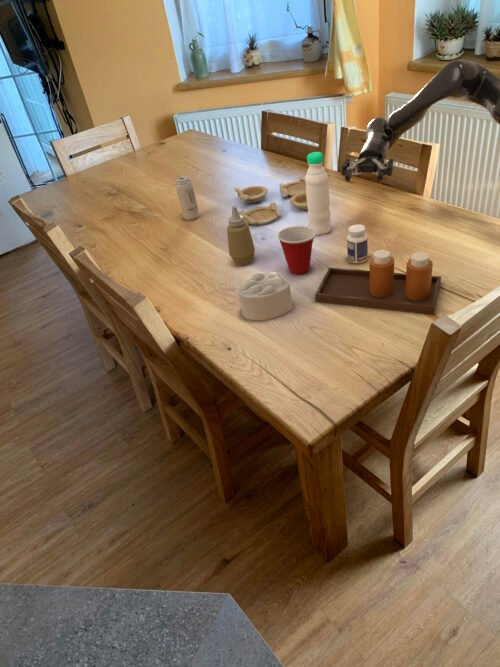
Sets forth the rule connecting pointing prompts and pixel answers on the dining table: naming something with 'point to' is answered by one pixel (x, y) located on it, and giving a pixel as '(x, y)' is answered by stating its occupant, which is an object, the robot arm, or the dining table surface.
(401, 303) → the tray
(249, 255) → the squeeze bottle
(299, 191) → the tableware set
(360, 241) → the pill bottle
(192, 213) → the energy drink can
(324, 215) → the water bottle
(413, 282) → the amber bottle
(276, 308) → the lumpy-topped squat cylinder
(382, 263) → the amber bottle
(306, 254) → the plastic cup
